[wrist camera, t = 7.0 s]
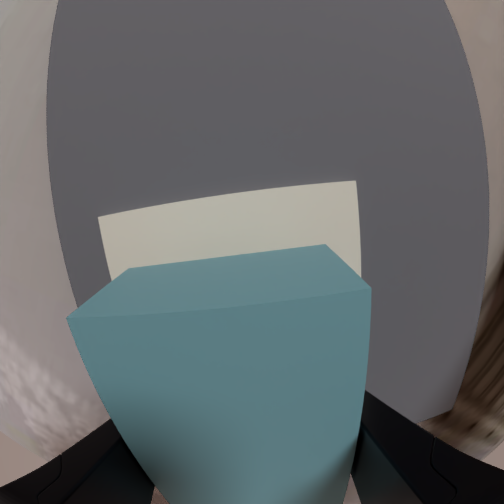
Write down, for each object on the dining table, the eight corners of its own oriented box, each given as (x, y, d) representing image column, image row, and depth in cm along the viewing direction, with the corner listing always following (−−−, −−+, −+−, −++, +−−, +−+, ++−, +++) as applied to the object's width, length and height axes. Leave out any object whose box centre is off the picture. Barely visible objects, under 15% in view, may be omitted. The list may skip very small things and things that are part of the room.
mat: (419, -34, 6) (425, -41, 5) (448, 403, 11) (453, 411, 11) (65, -2, 7) (58, -8, 6) (147, 447, 12) (143, 456, 11)
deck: (325, 451, 9) (340, 513, 6) (196, 461, 9) (185, 521, 6) (325, 243, 7) (371, 288, 4) (128, 268, 7) (66, 317, 4)
